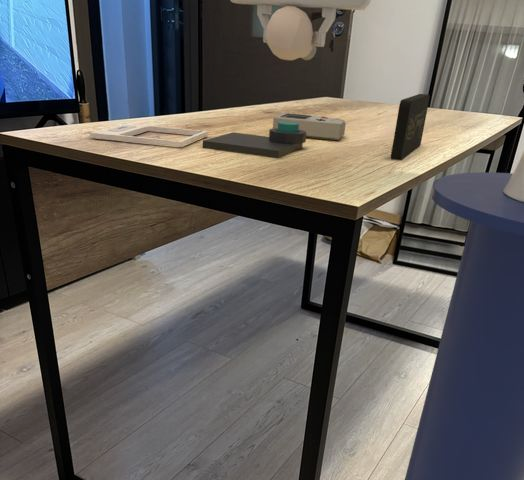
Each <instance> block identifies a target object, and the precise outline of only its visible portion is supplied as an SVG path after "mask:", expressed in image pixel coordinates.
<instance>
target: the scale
mask: <svg viewBox="0 0 524 480" xmlns="http://www.w3.org/2000/svg"><path fill="white" fill-rule="evenodd" d="M277 130H278V128H273V127H272V128H270V129H269V131H268V136H265V135H257V134H250V133H241V132H233V131H232V132H229V133H225V134H222V135H219V136H215V137H211V138H207V139H204V140H203V139H202V148H203V149H204V148H205V149H212V150H219V151H226V152H233V153H239V154H240V153H241V154H247V155H248V154H249V155H256V156H263V157H269V158H277V159H279V158H282V157H283V156H285V155H288V154H290V153H293V152H295V151H297V150H299V149H301V148H303V144H304V143H305V144H306V142H307V137H306V132H305V131H303V130H298V133H286V132H279V131H277Z"/></svg>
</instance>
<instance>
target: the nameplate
mask: <svg viewBox="0 0 524 480" xmlns="http://www.w3.org/2000/svg"><path fill="white" fill-rule="evenodd" d="M430 96H431V95H430V94H428V93H427V94H426V93H419V94H415V95H412V96H408V97H405V98H403V99H401V100H400V101H399V106H398V111H397V117H396V123H395V128H394V136H393V141H392V147H391V153H390V159H391V160H395V161H403V160H405V158H407V157H408V156H410V155H411V154H412V153H414V152H415V151H416V150H417V149H418V148H420V147H421V144H422V140H423V134H424V129H425V124H426V118H427V114H428V109H429V104H430V98H431V97H430Z"/></svg>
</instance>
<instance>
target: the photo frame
mask: <svg viewBox="0 0 524 480" xmlns="http://www.w3.org/2000/svg"><path fill="white" fill-rule="evenodd" d="M146 132H158V133H167V134H168V133H169V134H178V135H186V136H188V137H185V138H182V139H180V140H174V139H173V140H172V139H164V138H154V137H143V136H136V135H139V134H143V133H146ZM208 136H209V131H207V130H198V129H190V128H189V129H188V128H179V127H168V126H160V125H159V126H157V125H149V124H148V125H147V124H139V123H127V122H126V123H125V122H124V123H122V124H121V123H120V124H118V125H113V126H110V127H106V128H103V129H99V130H95V131H91V132H89V138H90V139H97V140H107V141H115V142H125V143H135V144H146V145H155V146H165V147H173V148H184V147H186V146H188V145H190V144H192V143H195V142H197V141H199V140H203V139H204V138H207V137H208Z"/></svg>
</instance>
